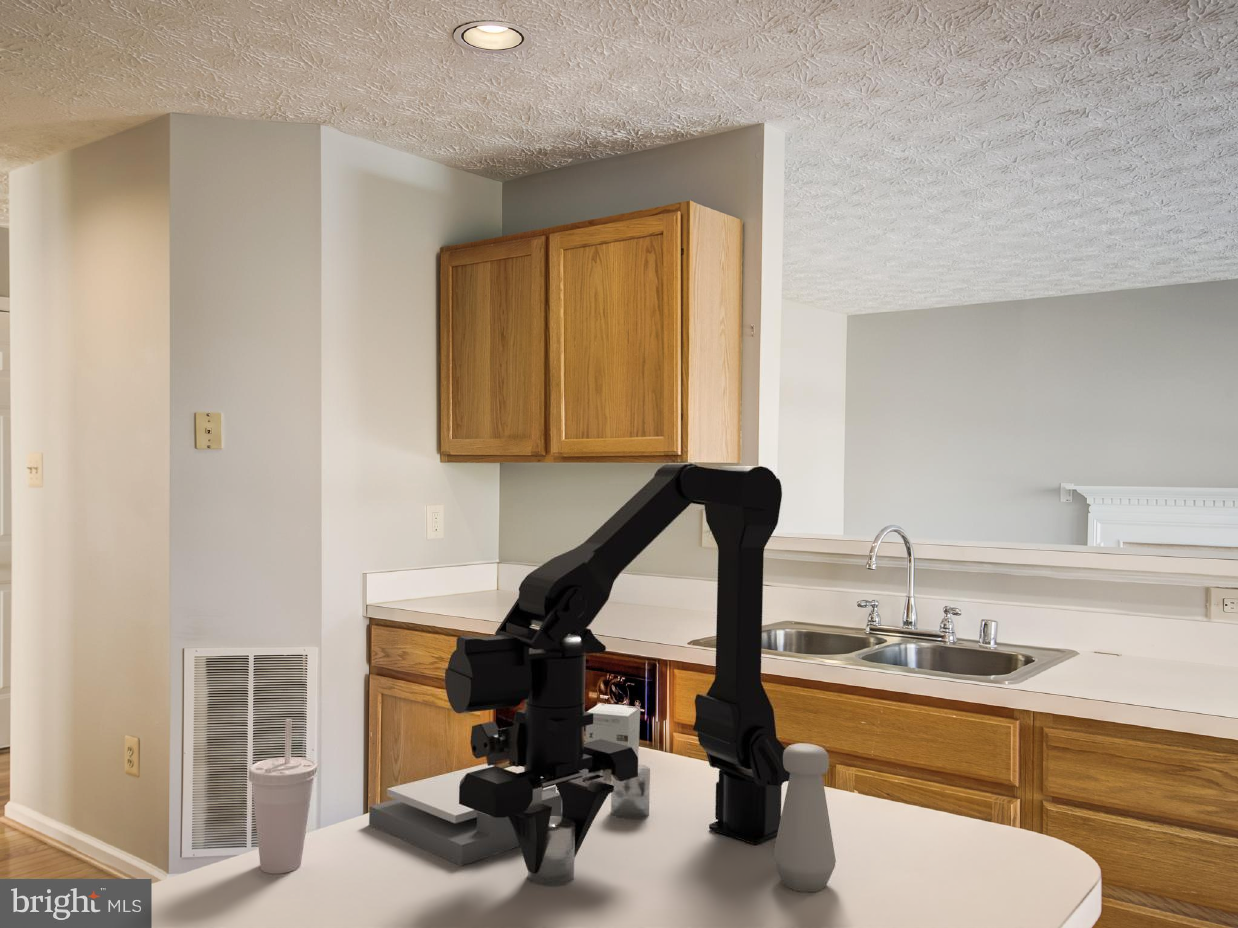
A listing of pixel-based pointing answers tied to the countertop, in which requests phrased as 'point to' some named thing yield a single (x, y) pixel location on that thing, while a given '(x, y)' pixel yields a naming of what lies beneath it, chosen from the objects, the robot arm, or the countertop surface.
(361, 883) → the countertop surface
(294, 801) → the smoothie
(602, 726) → the skincare box
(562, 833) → the cylinder
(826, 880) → the salt shaker
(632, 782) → the cylinder
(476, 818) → the scale
